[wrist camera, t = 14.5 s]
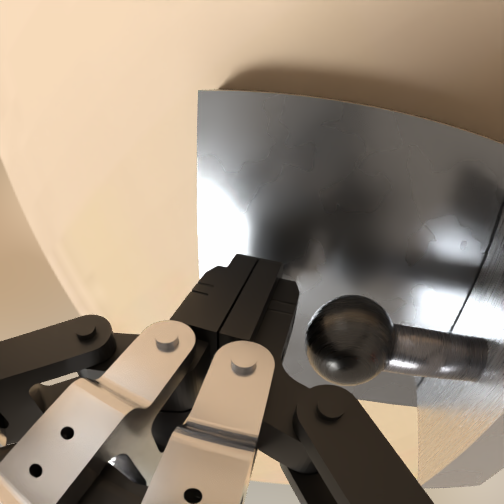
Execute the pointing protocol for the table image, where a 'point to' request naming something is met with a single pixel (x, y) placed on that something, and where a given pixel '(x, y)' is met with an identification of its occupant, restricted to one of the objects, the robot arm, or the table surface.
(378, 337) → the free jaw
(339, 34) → the table surface
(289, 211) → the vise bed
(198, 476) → the robot arm
